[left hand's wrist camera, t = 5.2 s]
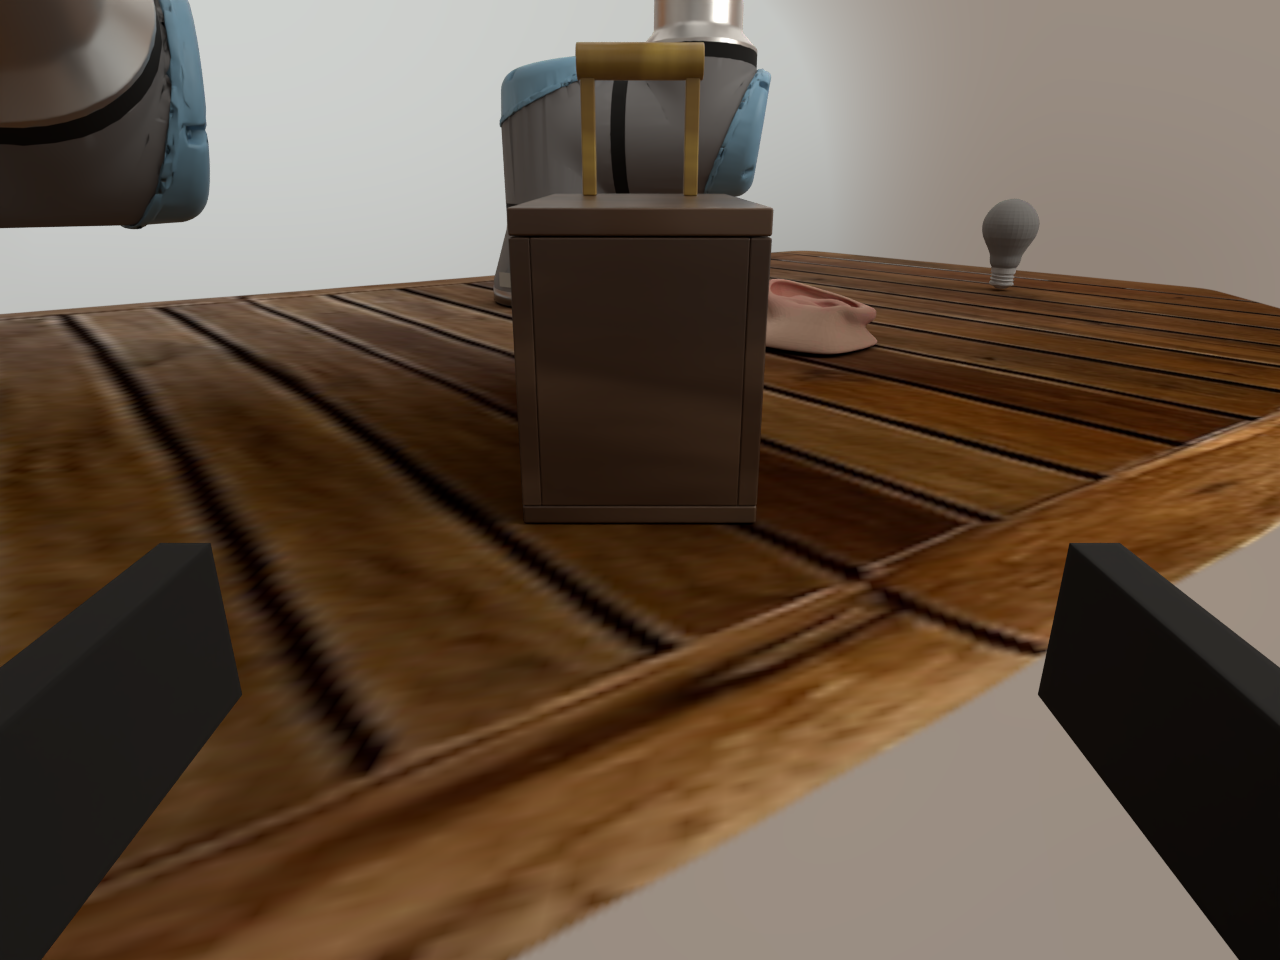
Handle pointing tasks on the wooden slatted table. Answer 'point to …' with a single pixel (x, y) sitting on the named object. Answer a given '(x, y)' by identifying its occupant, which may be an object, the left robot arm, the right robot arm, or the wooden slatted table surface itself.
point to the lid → (640, 210)
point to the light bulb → (1008, 237)
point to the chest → (639, 376)
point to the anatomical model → (815, 320)
